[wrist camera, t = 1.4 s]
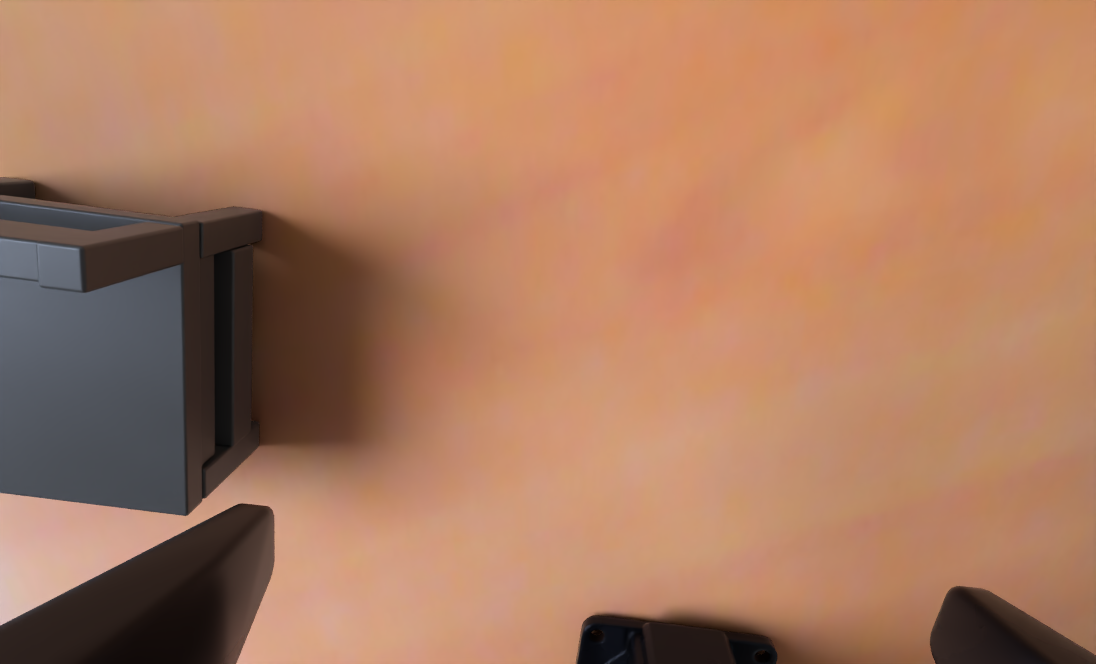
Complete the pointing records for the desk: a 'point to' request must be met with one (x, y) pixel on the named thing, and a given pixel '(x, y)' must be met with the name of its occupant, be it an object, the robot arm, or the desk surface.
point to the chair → (123, 351)
